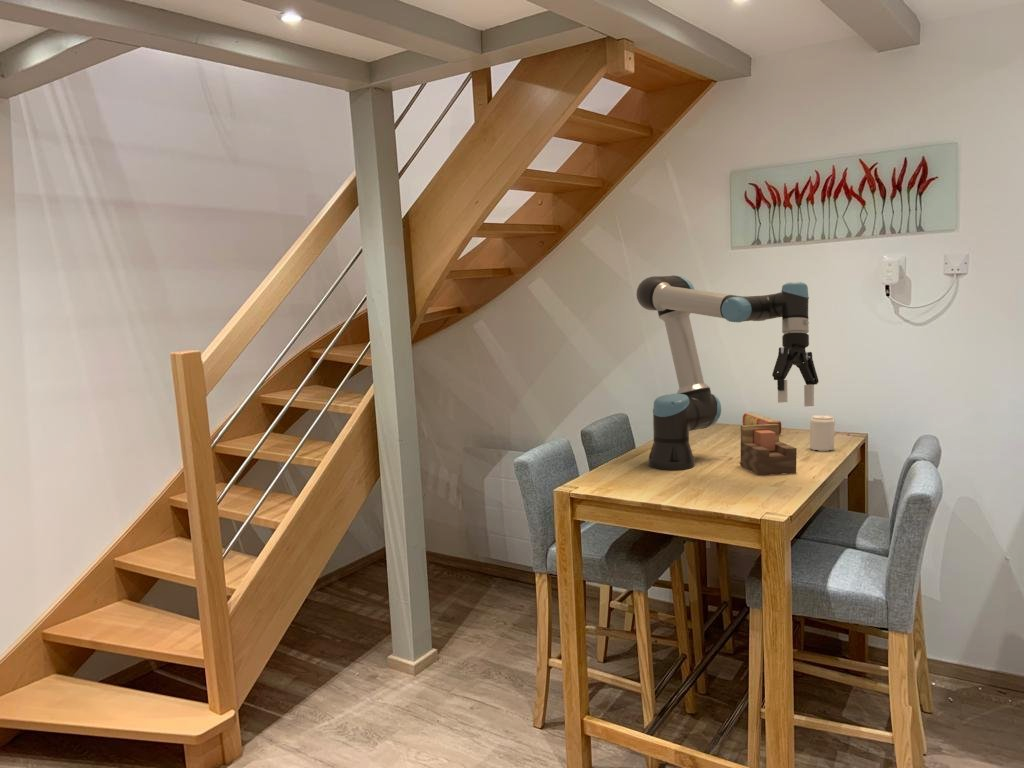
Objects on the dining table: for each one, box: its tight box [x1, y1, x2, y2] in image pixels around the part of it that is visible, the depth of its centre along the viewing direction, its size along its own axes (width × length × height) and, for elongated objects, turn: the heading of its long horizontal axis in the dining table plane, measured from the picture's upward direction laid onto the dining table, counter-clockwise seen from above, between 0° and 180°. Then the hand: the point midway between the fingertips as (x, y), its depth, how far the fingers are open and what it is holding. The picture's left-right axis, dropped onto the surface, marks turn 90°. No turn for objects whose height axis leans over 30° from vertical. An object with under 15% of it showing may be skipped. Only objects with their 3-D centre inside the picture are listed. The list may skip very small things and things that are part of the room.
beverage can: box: [809, 414, 836, 452], centre depth 287 cm, size 8×8×12 cm
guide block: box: [740, 424, 798, 476], centre depth 260 cm, size 14×12×14 cm
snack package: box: [741, 411, 782, 435], centre depth 324 cm, size 21×7×7 cm, turn 12°
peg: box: [753, 429, 775, 451], centre depth 266 cm, size 14×5×6 cm, turn 8°
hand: (796, 404), depth 239 cm, fingers open, 13 cm apart
